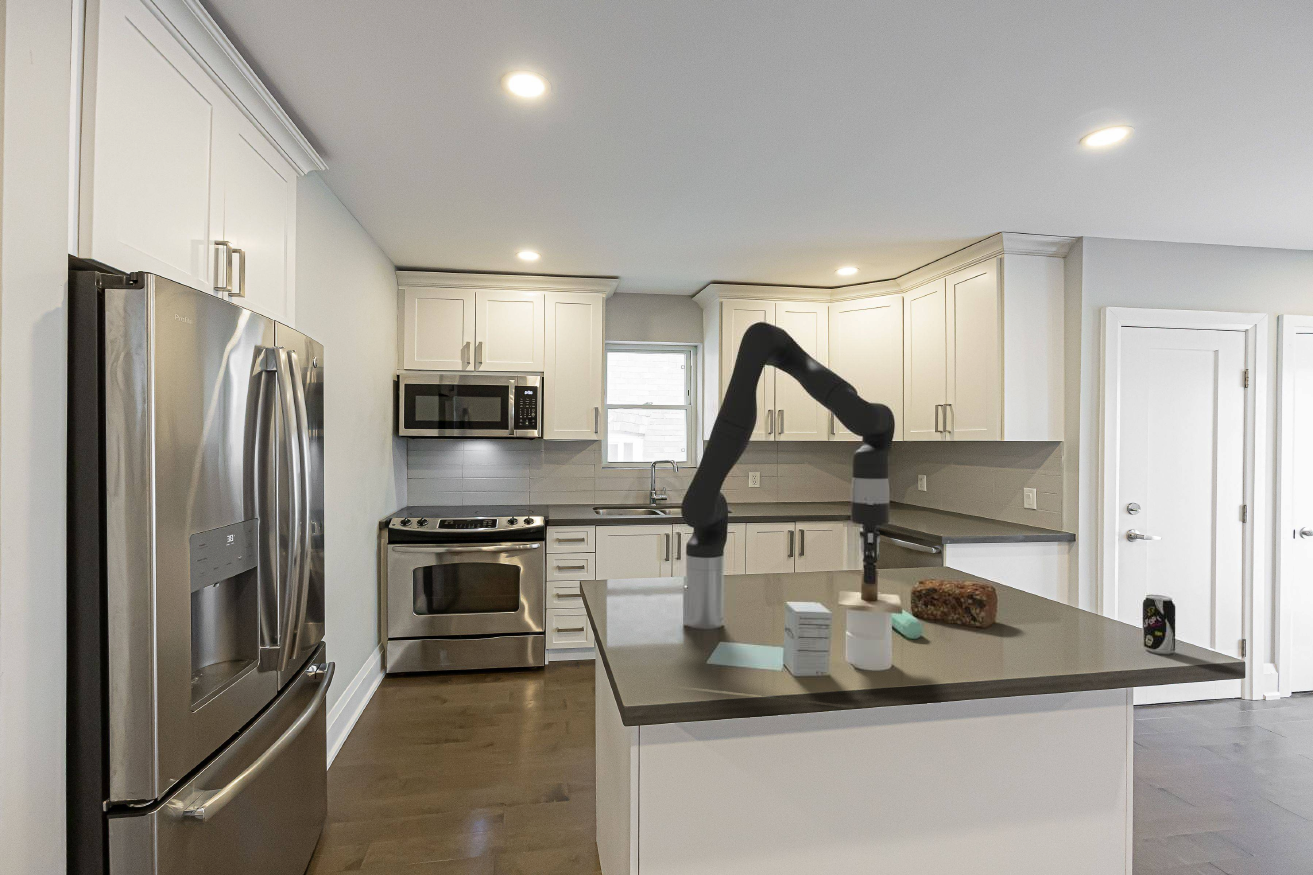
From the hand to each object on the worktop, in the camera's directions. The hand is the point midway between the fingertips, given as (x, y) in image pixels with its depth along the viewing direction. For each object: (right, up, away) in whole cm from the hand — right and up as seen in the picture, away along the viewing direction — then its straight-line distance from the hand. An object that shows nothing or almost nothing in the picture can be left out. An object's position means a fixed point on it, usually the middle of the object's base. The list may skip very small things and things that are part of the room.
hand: (869, 579), depth 138 cm
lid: (0, -5, 0) cm, 5 cm away
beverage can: (+66, -18, +9) cm, 69 cm away
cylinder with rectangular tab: (0, -17, 0) cm, 17 cm away
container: (+15, -18, +29) cm, 37 cm away
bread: (+32, -18, +35) cm, 51 cm away
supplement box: (-14, -17, -5) cm, 23 cm away
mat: (-24, -17, +3) cm, 30 cm away
